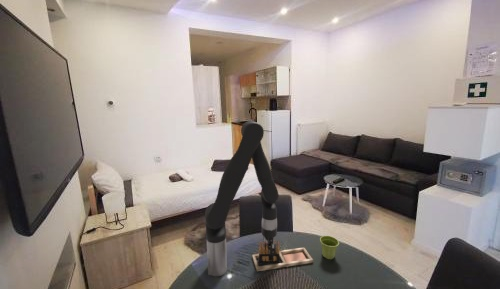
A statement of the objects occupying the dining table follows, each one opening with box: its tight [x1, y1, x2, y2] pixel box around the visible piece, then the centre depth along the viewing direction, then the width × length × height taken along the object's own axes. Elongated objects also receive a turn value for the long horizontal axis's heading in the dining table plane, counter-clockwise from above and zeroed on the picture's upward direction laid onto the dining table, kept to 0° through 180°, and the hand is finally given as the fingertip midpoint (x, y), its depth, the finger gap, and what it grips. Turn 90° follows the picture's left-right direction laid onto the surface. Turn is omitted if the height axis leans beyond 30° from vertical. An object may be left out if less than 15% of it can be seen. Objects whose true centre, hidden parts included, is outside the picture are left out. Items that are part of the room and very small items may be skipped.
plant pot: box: [319, 235, 340, 260], centre depth 122 cm, size 9×9×9 cm
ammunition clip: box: [257, 240, 281, 264], centre depth 117 cm, size 11×2×12 cm, turn 91°
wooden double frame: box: [251, 247, 314, 272], centre depth 119 cm, size 29×10×2 cm, turn 102°
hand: (269, 255), depth 117 cm, fingers open, 6 cm apart
